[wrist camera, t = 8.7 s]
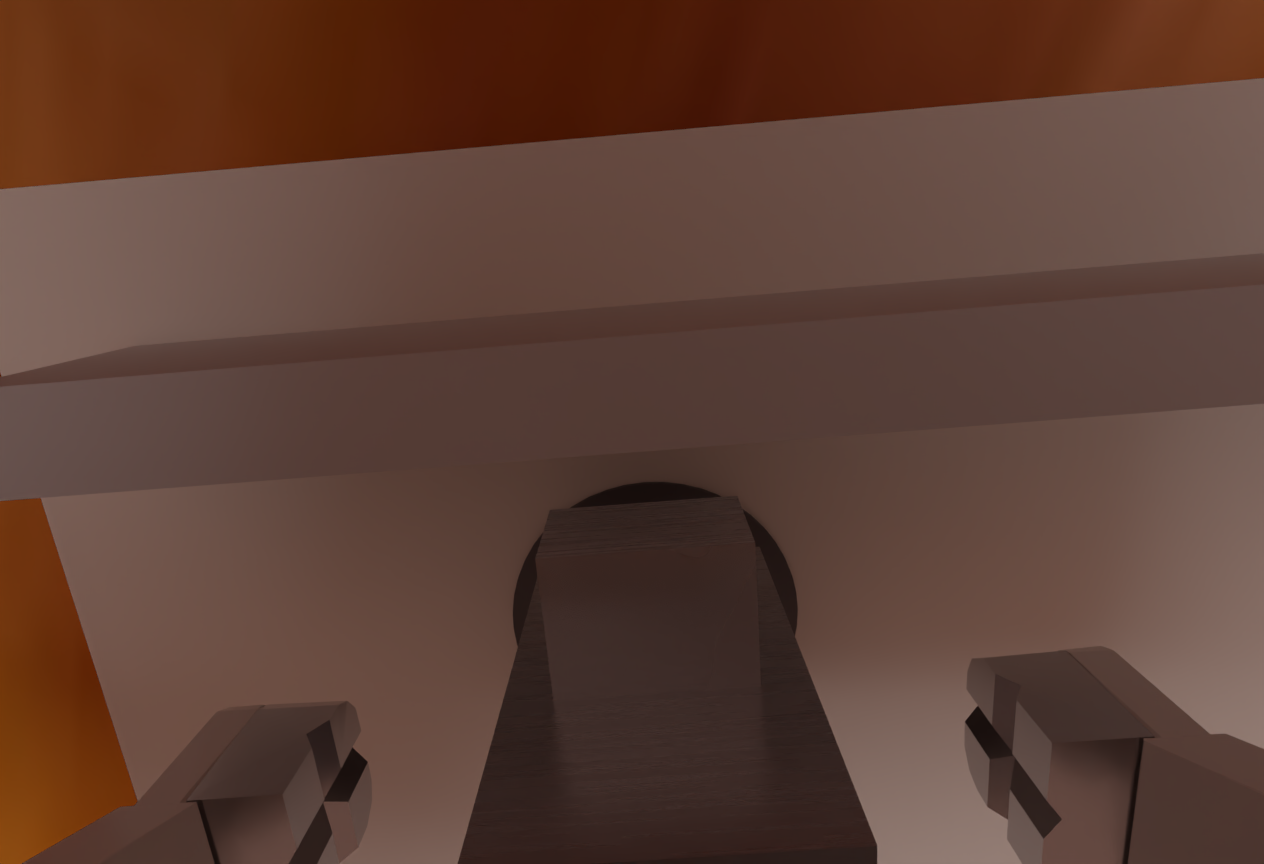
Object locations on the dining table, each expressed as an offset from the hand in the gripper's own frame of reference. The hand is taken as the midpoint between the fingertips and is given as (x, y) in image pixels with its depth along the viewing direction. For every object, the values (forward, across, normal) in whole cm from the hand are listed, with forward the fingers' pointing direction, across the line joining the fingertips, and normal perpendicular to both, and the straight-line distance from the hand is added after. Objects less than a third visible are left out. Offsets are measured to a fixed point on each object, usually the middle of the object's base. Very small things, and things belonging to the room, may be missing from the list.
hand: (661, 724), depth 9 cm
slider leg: (+2, 0, -1) cm, 2 cm away
